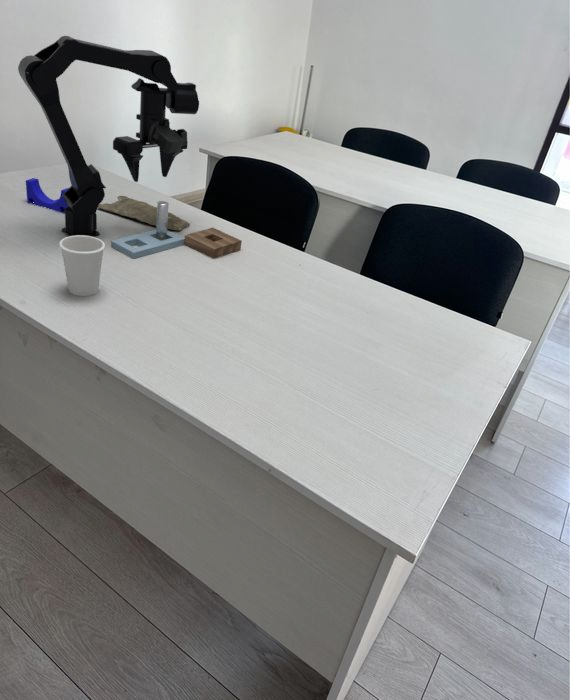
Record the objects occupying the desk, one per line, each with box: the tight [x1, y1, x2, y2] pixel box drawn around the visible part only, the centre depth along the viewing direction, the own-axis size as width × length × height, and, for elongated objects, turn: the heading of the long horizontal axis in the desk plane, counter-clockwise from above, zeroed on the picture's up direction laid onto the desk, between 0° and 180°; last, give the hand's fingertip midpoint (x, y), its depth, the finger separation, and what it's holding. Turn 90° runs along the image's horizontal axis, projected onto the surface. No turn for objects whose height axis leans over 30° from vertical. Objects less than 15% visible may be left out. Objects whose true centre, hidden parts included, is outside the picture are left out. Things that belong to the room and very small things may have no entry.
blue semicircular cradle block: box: [25, 177, 70, 214], centre depth 151 cm, size 12×4×6 cm, turn 72°
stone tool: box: [97, 195, 191, 232], centre depth 156 cm, size 11×3×25 cm
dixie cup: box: [58, 235, 106, 297], centre depth 115 cm, size 8×8×10 cm
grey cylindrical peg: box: [155, 200, 169, 241], centre depth 141 cm, size 3×3×10 cm
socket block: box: [184, 227, 243, 259], centre depth 145 cm, size 10×10×2 cm
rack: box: [110, 229, 185, 259], centre depth 140 cm, size 16×8×2 cm, turn 143°
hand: (150, 179), depth 143 cm, fingers open, 9 cm apart
